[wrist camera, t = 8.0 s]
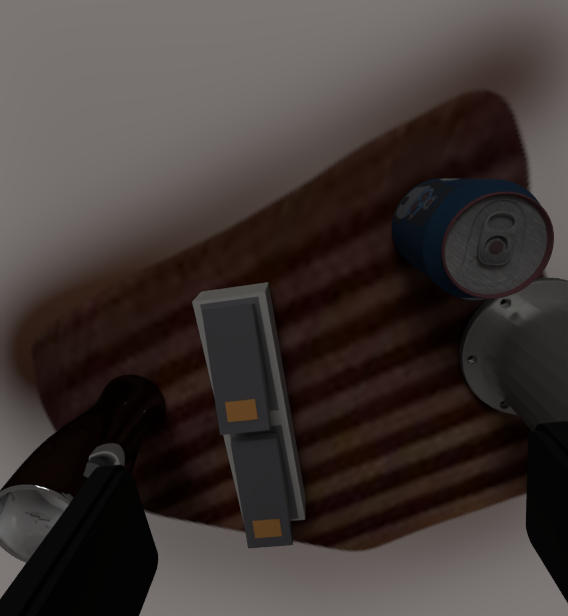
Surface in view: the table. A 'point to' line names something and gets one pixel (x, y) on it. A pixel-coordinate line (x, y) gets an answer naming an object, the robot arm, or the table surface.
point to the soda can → (474, 236)
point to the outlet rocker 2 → (262, 490)
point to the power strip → (273, 379)
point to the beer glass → (76, 461)
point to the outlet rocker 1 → (237, 369)
